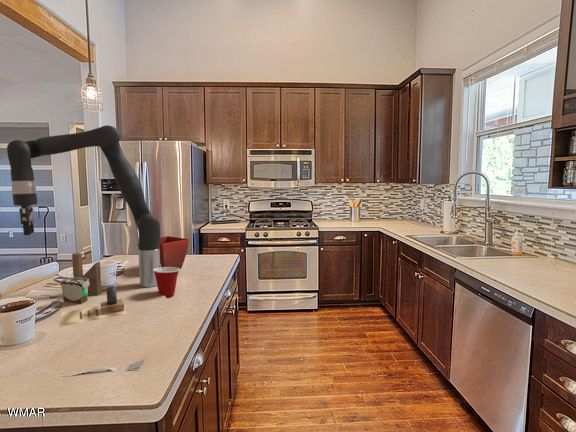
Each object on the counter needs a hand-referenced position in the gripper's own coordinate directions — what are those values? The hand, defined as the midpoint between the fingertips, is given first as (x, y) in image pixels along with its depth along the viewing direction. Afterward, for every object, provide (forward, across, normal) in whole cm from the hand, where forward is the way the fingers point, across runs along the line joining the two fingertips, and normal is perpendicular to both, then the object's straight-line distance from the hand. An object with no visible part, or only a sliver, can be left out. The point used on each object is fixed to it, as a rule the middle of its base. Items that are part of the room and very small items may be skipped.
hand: (29, 234), depth 134 cm
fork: (+32, -69, -19) cm, 78 cm away
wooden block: (+29, +3, -17) cm, 34 cm away
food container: (+29, -9, -15) cm, 34 cm away
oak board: (+30, -28, -19) cm, 45 cm away
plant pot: (+30, +31, -56) cm, 70 cm away
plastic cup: (+31, -17, -47) cm, 58 cm away
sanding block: (+28, -27, -25) cm, 47 cm away
